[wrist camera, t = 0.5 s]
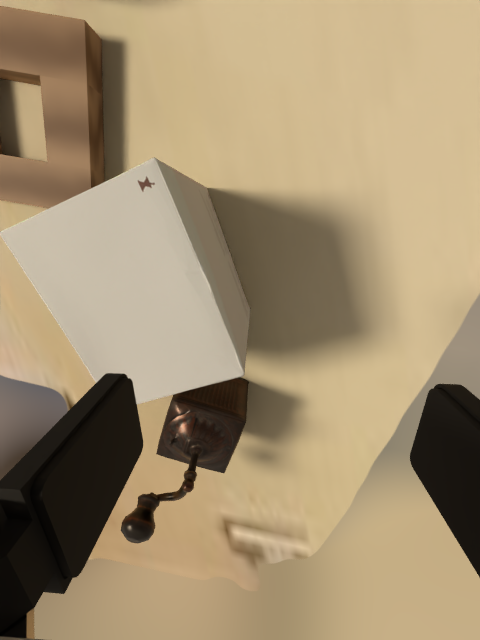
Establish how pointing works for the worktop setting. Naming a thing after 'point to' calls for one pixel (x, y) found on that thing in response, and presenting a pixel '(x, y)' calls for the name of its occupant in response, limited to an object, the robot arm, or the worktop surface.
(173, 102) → the worktop surface
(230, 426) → the coffee grinder
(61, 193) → the socket block
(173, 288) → the supplement box
